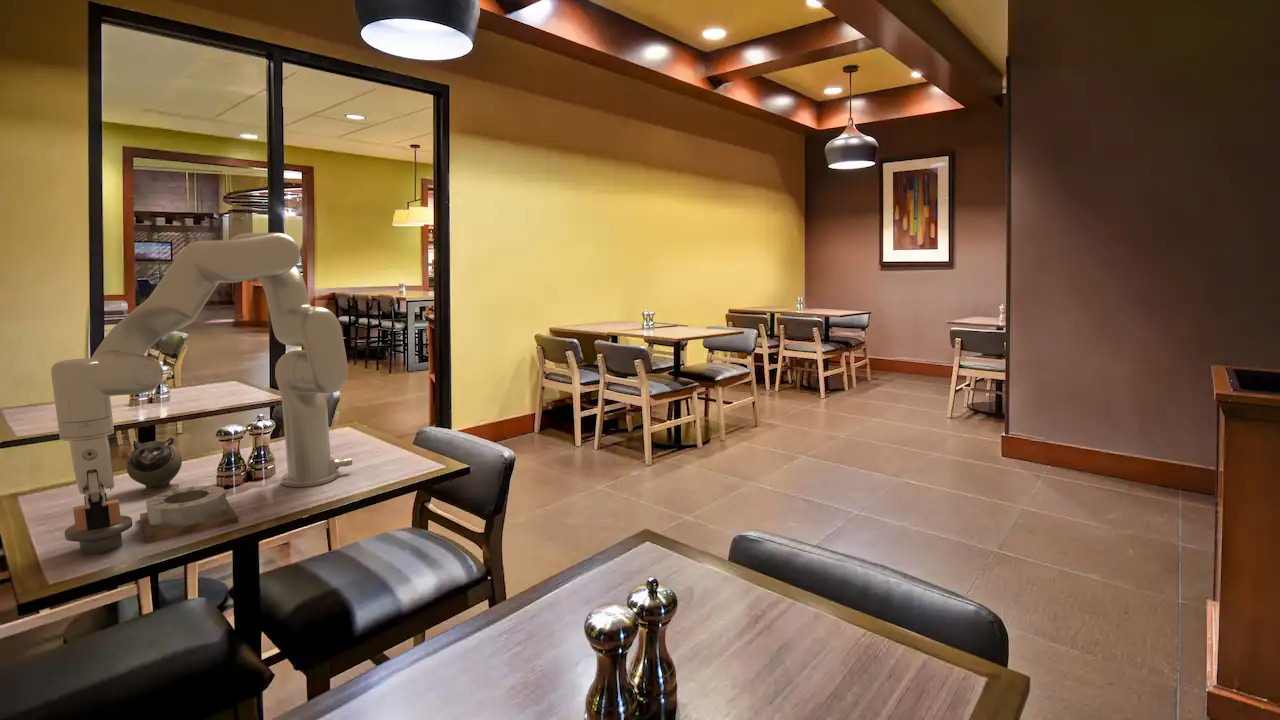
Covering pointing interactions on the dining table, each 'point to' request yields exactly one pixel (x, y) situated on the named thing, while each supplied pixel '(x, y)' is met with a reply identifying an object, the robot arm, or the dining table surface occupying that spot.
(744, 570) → the dining table surface
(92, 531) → the multicoloured piece
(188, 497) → the grey stone basin
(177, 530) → the mount plate
